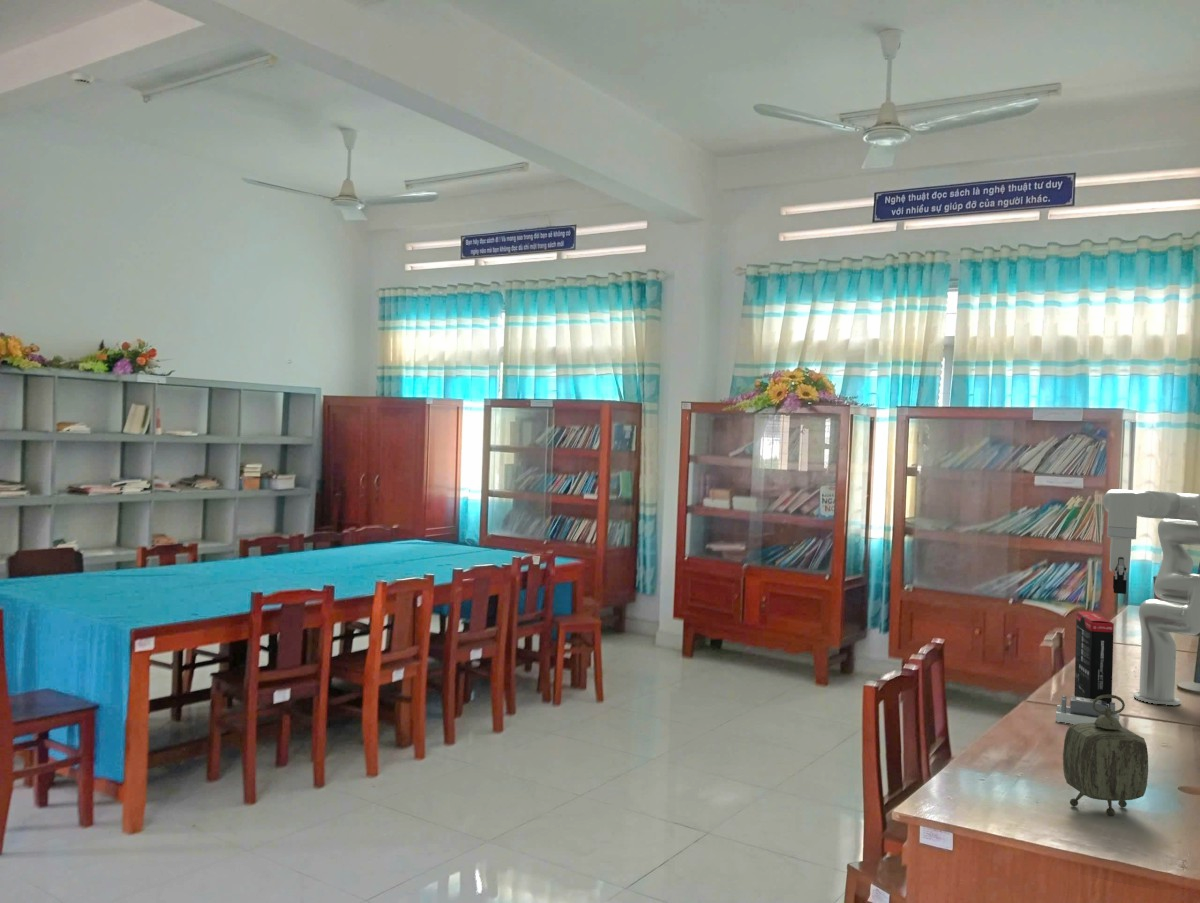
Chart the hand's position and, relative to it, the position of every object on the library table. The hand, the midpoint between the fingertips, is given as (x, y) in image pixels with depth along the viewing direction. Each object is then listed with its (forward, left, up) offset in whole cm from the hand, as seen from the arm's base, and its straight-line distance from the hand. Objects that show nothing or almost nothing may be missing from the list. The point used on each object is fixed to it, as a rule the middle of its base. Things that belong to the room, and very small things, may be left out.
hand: (1119, 591), depth 284 cm
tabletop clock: (+90, -3, -36) cm, 97 cm away
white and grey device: (+14, -7, -36) cm, 40 cm away
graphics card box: (-8, -6, -37) cm, 38 cm away
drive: (+14, -7, -35) cm, 39 cm away
